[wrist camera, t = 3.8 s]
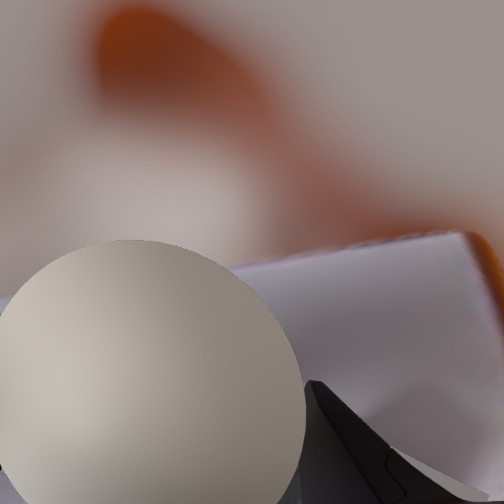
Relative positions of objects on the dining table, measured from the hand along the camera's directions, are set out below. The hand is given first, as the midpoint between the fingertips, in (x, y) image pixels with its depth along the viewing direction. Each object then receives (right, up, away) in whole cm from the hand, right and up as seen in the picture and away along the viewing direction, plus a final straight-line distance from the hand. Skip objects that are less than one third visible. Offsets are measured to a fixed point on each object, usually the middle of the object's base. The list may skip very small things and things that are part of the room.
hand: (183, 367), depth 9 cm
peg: (-1, -4, +5) cm, 7 cm away
